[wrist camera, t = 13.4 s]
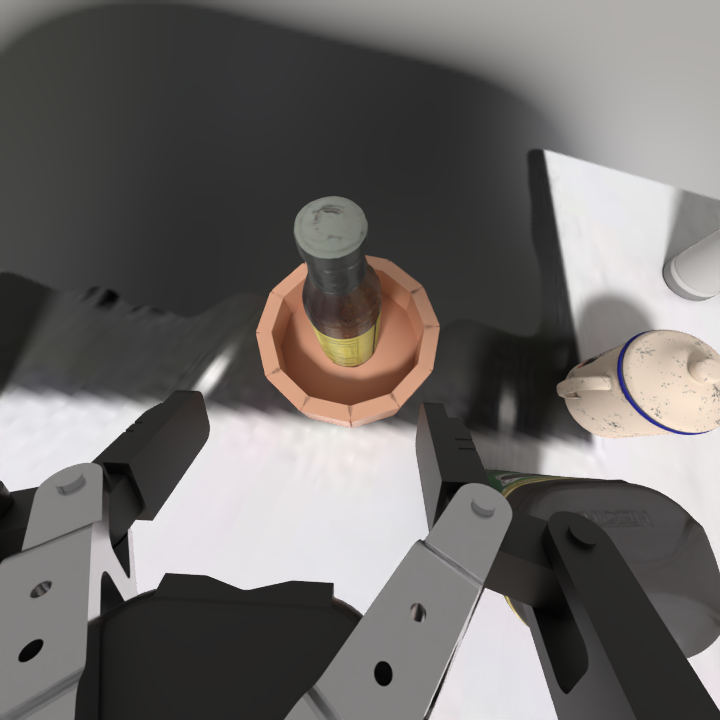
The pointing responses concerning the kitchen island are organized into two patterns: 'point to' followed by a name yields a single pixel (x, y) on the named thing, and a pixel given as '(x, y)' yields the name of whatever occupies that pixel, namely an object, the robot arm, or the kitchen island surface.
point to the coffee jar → (635, 545)
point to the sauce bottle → (339, 279)
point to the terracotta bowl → (346, 384)
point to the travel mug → (696, 270)
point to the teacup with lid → (647, 387)
